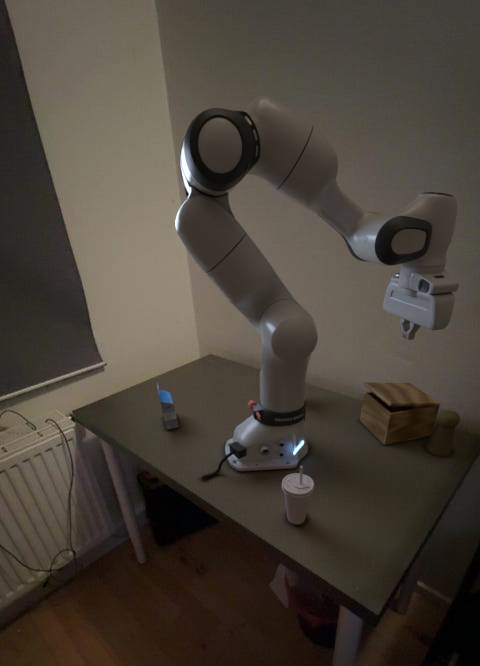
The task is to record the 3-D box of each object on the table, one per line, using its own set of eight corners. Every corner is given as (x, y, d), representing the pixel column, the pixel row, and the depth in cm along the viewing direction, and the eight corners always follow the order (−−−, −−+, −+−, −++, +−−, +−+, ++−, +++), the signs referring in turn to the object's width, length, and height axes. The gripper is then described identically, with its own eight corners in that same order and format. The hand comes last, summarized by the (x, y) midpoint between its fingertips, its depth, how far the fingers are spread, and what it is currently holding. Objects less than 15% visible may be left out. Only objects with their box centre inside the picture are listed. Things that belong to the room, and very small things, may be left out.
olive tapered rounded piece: (425, 440, 95) (435, 405, 89) (450, 444, 93) (462, 408, 87) (426, 453, 90) (436, 416, 84) (452, 457, 88) (465, 420, 82)
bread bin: (384, 444, 94) (390, 414, 89) (359, 420, 105) (364, 392, 100) (431, 436, 96) (439, 406, 91) (402, 413, 107) (408, 385, 102)
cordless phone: (179, 427, 107) (172, 391, 100) (165, 430, 106) (158, 394, 99) (175, 414, 114) (169, 380, 107) (162, 416, 113) (156, 382, 106)
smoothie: (304, 534, 70) (308, 480, 62) (275, 522, 73) (276, 470, 65) (316, 513, 74) (321, 461, 67) (288, 503, 77) (290, 452, 70)
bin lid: (390, 406, 87) (391, 403, 87) (363, 384, 98) (364, 382, 98) (439, 405, 91) (440, 403, 91) (408, 385, 102) (409, 382, 102)
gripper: (381, 272, 87) (373, 327, 94) (438, 287, 70) (422, 353, 77) (404, 270, 88) (394, 325, 95) (465, 284, 71) (447, 349, 78)
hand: (407, 338), depth 86 cm, fingers closed
